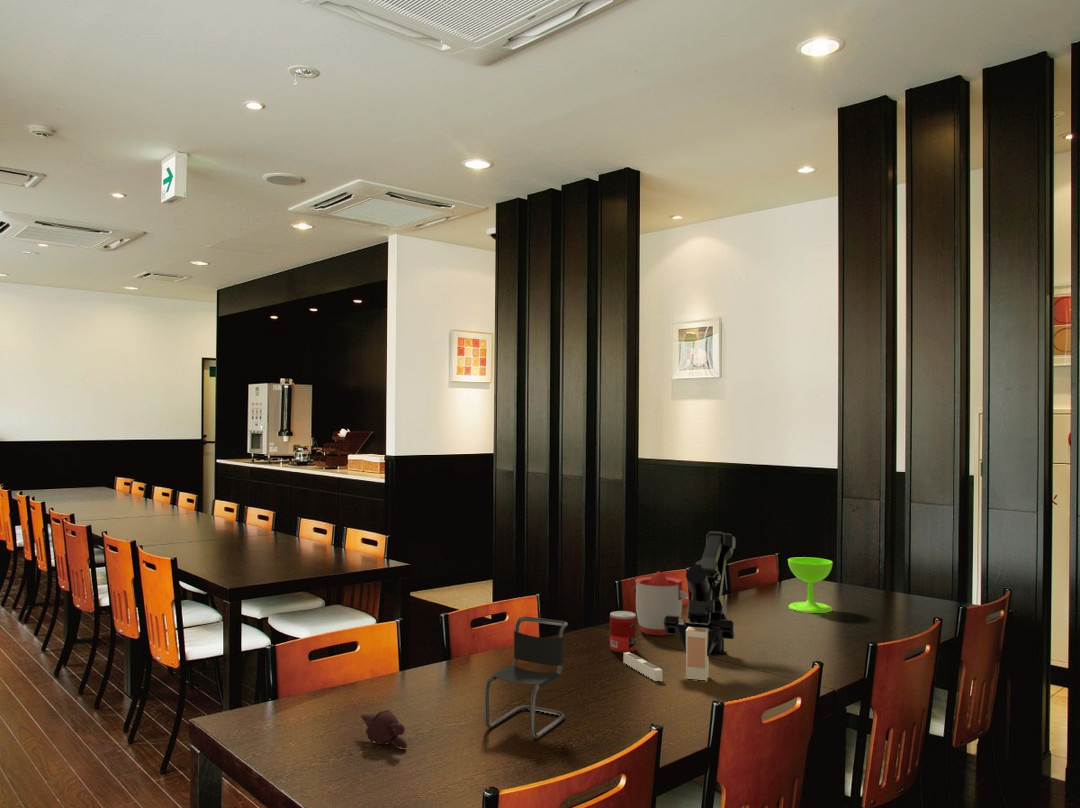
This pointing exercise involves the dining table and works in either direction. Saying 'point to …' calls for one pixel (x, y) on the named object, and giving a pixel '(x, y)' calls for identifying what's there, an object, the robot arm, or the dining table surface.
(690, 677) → the carton
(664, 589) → the citrus juicer
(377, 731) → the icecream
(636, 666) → the rail
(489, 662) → the dining table surface
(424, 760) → the dining table surface
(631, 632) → the canned food
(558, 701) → the dining table surface
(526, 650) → the chair
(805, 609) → the wineglass
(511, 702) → the dining table surface
